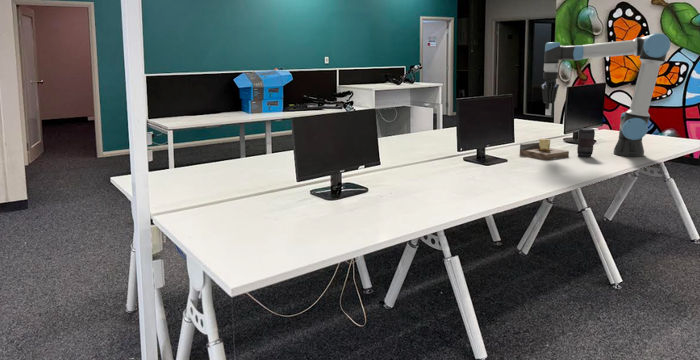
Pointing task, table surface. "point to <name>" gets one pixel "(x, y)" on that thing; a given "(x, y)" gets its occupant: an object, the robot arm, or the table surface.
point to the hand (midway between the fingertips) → (548, 115)
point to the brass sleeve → (544, 145)
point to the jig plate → (541, 152)
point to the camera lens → (585, 142)
